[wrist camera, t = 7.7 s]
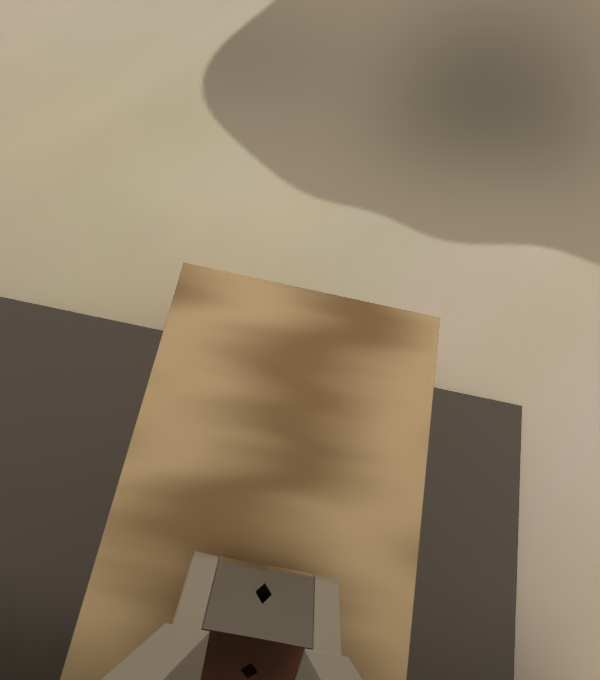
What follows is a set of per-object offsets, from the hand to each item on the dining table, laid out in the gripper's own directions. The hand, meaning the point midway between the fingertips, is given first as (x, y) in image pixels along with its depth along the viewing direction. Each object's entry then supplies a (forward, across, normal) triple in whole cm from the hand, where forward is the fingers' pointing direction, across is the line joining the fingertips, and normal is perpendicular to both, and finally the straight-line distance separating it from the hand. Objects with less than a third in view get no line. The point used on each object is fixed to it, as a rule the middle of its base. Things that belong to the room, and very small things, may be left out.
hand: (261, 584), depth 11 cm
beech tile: (0, 0, +6) cm, 6 cm away
